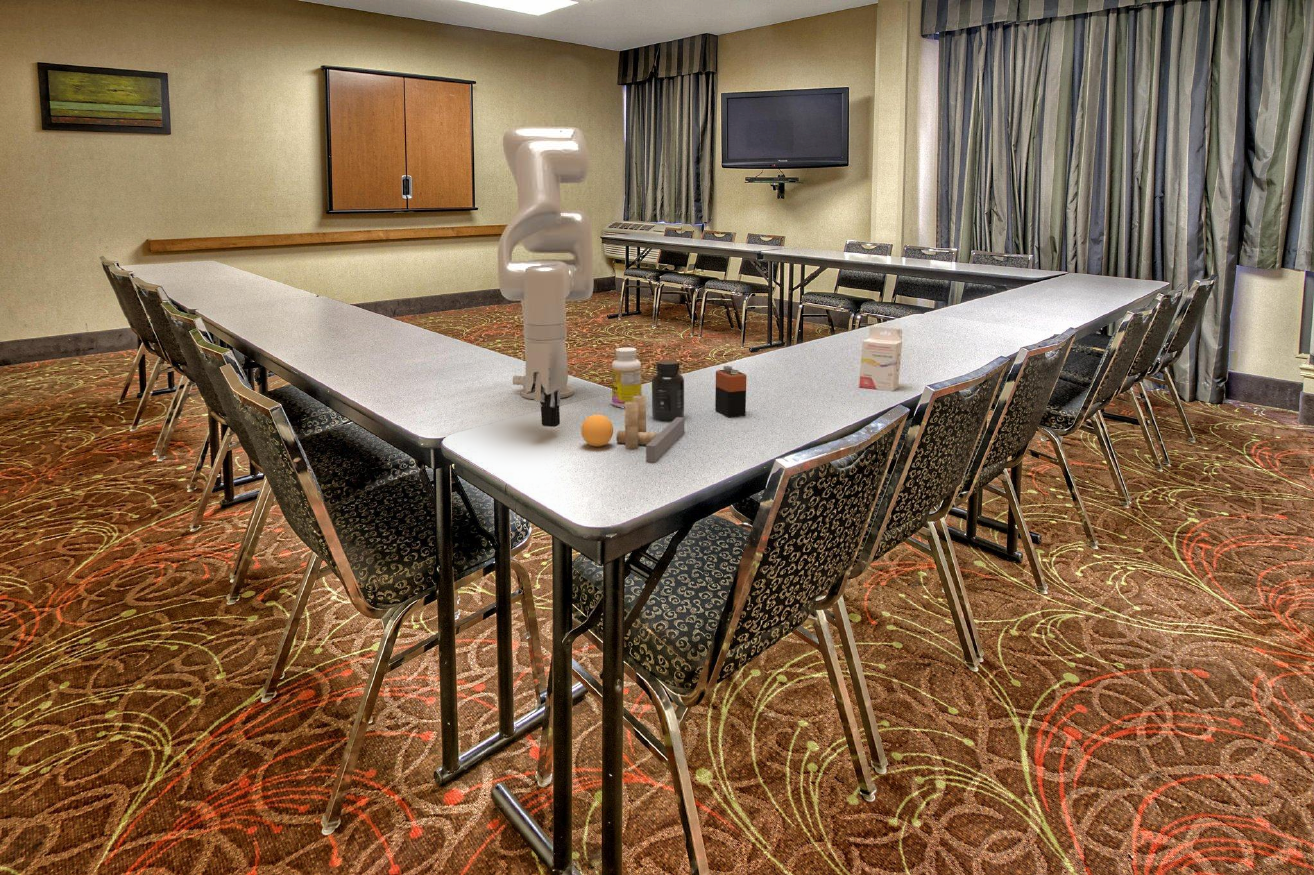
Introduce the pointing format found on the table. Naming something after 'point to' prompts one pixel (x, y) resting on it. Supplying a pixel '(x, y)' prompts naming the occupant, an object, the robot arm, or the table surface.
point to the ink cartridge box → (881, 359)
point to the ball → (597, 430)
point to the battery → (730, 392)
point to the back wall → (664, 440)
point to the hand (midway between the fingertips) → (550, 425)
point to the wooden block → (642, 437)
